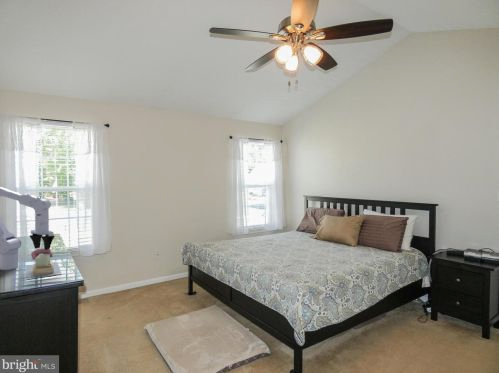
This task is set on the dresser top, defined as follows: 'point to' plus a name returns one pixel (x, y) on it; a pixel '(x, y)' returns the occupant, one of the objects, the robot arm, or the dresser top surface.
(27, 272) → the blueprint board
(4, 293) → the dresser top surface
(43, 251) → the video game controller
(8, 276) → the dresser top surface
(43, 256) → the sage block
